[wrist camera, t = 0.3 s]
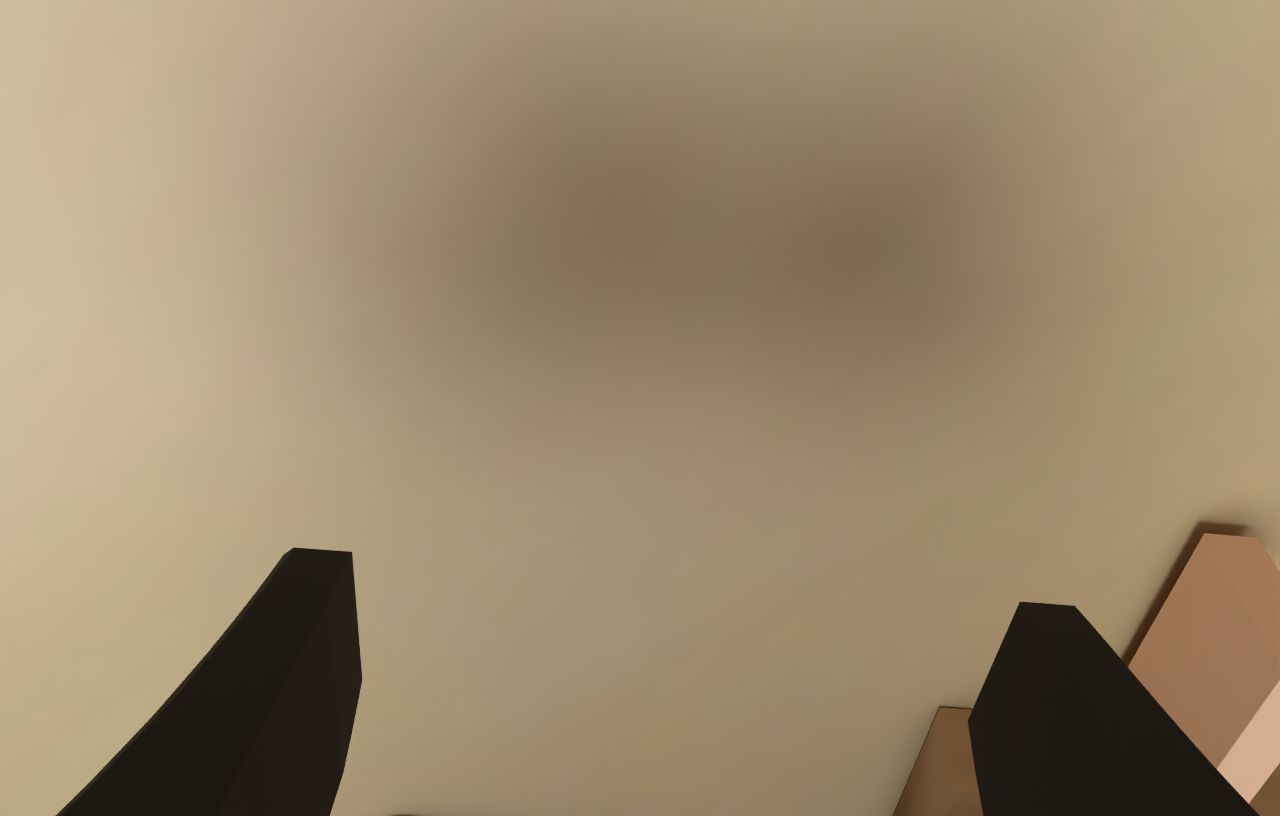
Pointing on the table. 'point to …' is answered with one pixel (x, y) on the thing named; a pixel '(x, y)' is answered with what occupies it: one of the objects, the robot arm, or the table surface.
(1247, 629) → the pink flat bar
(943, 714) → the dispenser
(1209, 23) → the table surface
